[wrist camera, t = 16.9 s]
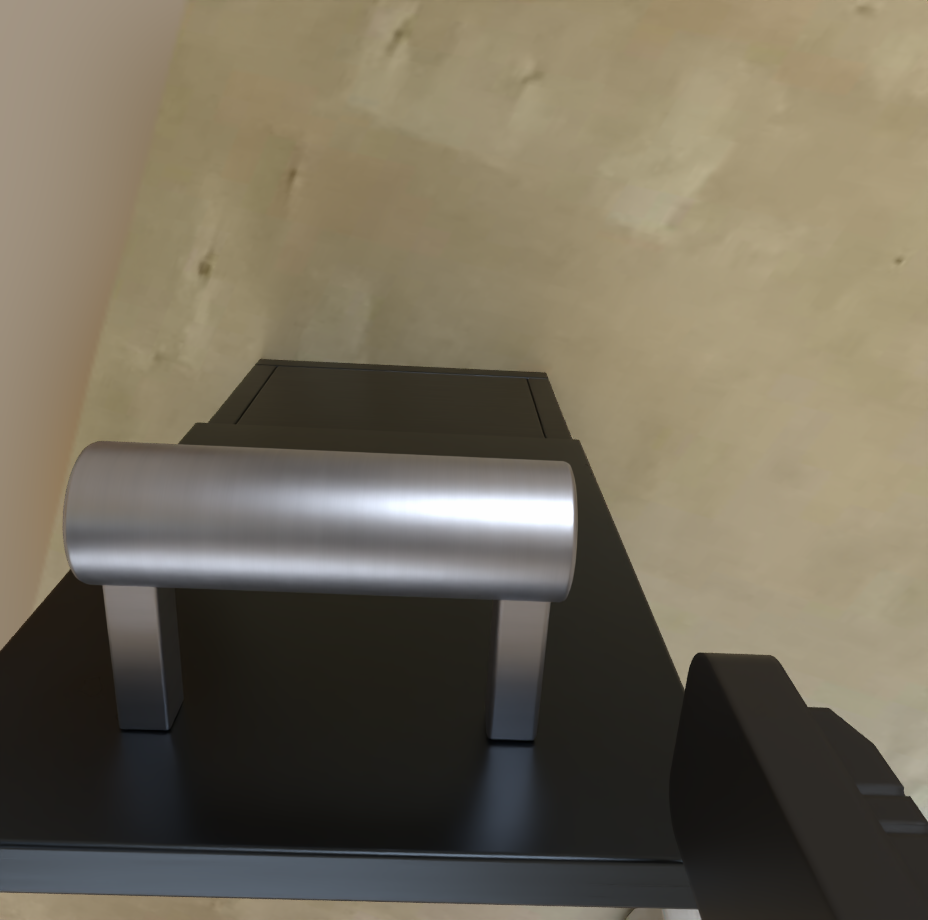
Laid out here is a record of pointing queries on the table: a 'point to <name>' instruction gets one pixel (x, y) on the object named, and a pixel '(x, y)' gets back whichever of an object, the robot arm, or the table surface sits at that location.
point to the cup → (663, 914)
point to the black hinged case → (395, 399)
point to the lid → (341, 679)
